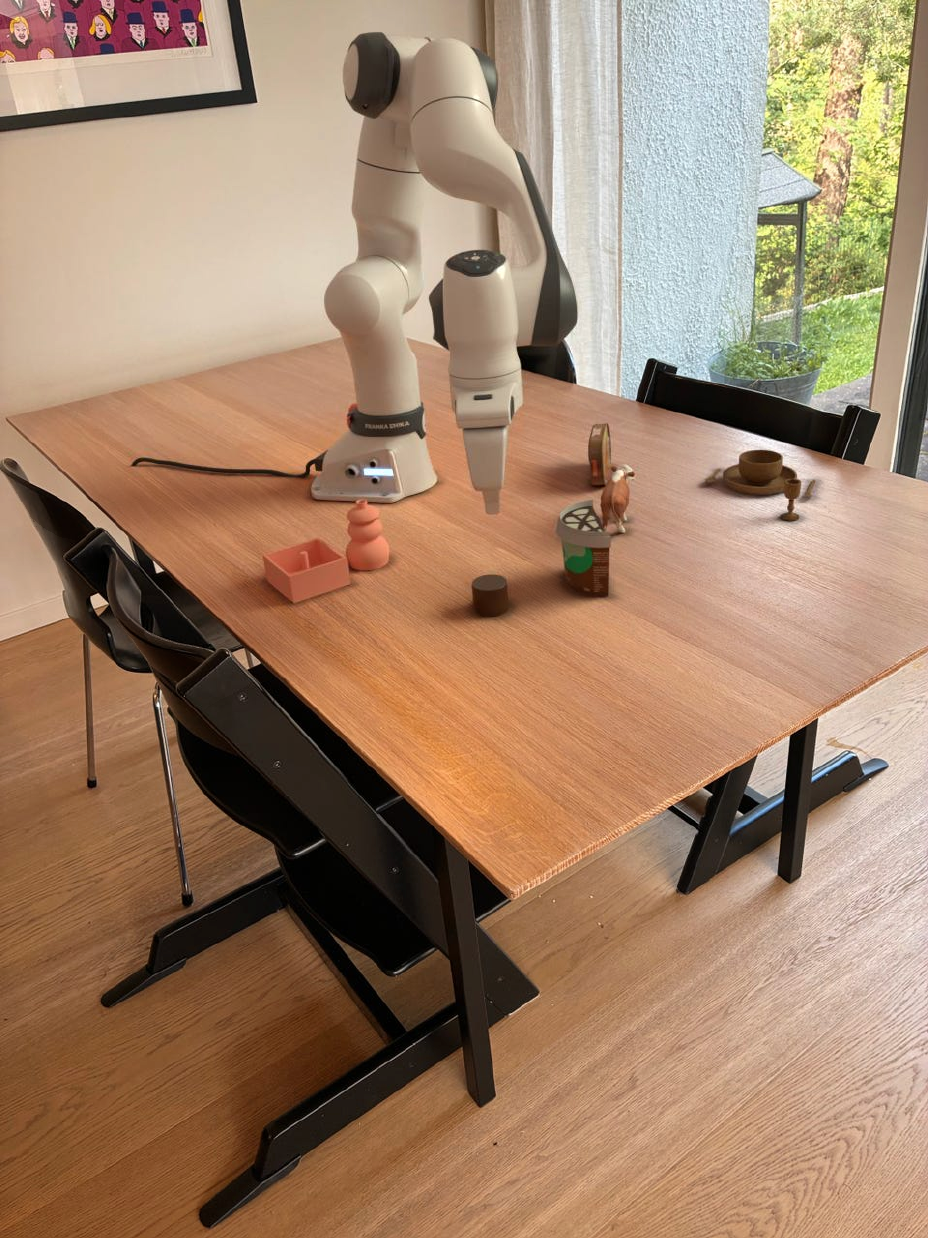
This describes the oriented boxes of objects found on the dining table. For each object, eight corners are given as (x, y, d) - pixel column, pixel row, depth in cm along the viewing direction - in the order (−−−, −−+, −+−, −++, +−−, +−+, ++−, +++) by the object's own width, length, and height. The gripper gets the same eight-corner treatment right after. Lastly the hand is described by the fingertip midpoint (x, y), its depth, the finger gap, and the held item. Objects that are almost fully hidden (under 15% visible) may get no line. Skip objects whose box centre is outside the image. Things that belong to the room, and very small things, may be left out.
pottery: (293, 603, 140) (282, 539, 136) (267, 580, 148) (255, 519, 143) (403, 566, 149) (397, 504, 144) (373, 546, 156) (365, 487, 151)
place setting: (820, 476, 168) (823, 442, 165) (801, 522, 152) (805, 486, 149) (715, 467, 175) (717, 435, 172) (687, 510, 159) (688, 475, 156)
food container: (551, 566, 145) (548, 502, 140) (592, 562, 145) (592, 498, 140) (565, 605, 134) (563, 537, 129) (610, 600, 134) (610, 532, 130)
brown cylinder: (472, 617, 133) (470, 590, 131) (474, 600, 137) (473, 574, 135) (507, 616, 133) (506, 590, 131) (509, 599, 137) (508, 573, 135)
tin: (605, 492, 168) (605, 444, 164) (586, 492, 169) (586, 444, 165) (612, 461, 181) (612, 416, 177) (594, 461, 182) (594, 416, 178)
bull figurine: (638, 508, 161) (639, 460, 157) (622, 543, 150) (622, 492, 146) (611, 507, 163) (611, 459, 159) (593, 540, 152) (593, 490, 148)
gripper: (466, 372, 132) (475, 471, 138) (454, 419, 114) (465, 530, 120) (514, 368, 131) (521, 468, 138) (509, 415, 113) (517, 527, 120)
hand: (495, 498), depth 129 cm, fingers open, 8 cm apart
